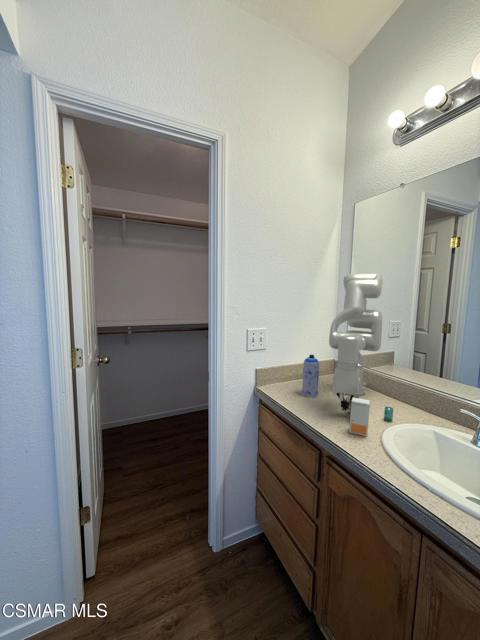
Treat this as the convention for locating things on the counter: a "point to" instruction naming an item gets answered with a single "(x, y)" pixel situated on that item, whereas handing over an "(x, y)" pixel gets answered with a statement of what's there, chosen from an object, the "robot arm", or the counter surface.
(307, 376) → the aerosol can
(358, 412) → the skincare box
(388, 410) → the teal elongated shape
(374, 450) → the counter surface
